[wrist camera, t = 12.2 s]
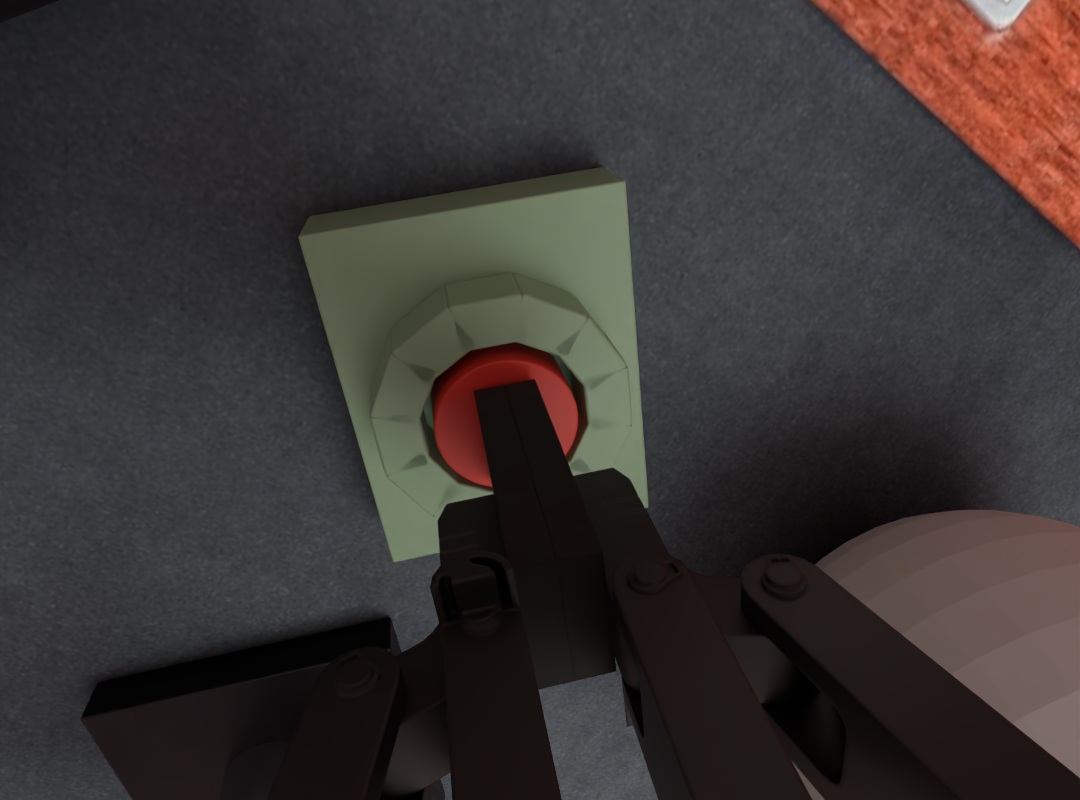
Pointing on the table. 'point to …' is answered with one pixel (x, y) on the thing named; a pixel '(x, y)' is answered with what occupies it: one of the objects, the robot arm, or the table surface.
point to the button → (486, 370)
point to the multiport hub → (19, 7)
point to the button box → (477, 325)
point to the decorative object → (982, 609)
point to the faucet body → (218, 717)
